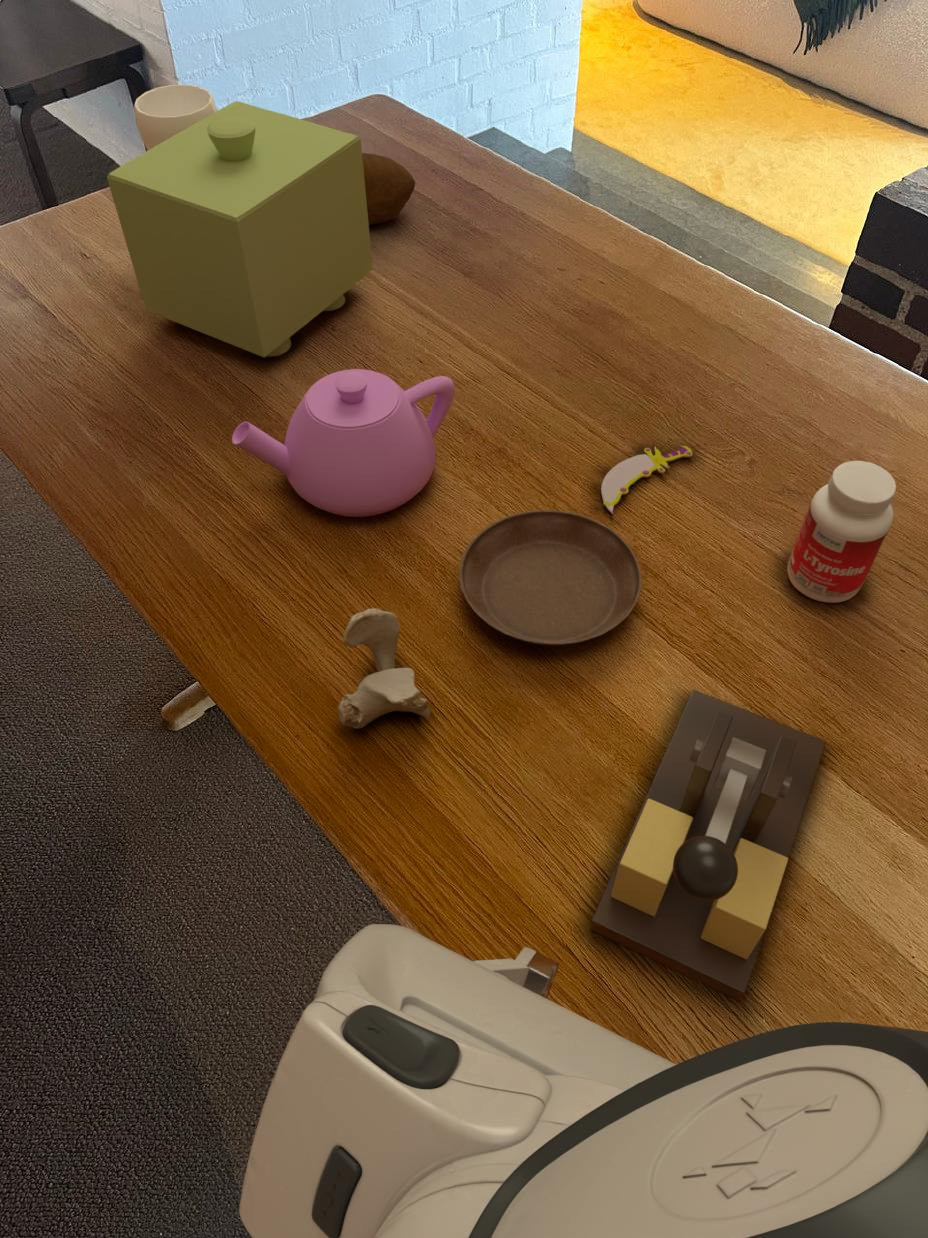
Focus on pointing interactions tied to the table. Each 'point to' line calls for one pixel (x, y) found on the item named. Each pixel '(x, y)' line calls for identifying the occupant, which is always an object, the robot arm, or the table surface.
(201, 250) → the container
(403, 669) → the bone
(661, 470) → the decorative knife
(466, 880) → the table surface
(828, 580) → the pill bottle
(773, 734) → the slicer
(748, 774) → the ball-knob lever switch
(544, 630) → the saucer
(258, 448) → the teapot
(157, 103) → the cup
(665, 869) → the butter
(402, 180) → the potato
